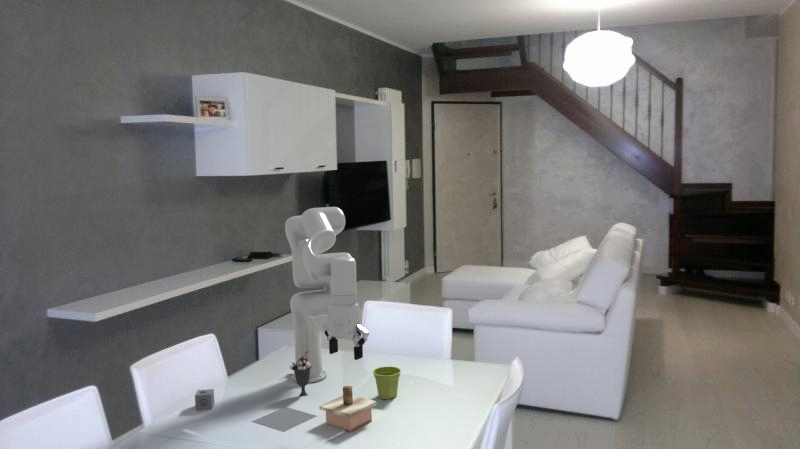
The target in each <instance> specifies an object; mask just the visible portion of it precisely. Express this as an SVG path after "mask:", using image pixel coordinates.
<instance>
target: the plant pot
mask: <svg viewBox="0 0 800 449" xmlns="http://www.w3.org/2000/svg"><path fill="white" fill-rule="evenodd" d="M401 373H402V369H401V368H399V367H396V366H389V365H388V366H379V367H377V368H375V369H373V370H372V374H373V376H374V380H375V383H376V389H377V390H376V391H377V395H378V397H379V398H380V399H382V400H391V399H392V398H393V399H394V398H396V397H397V396H398V388H399V380H400V379H399V378H400V376H401Z"/></svg>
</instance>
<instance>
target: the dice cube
mask: <svg viewBox="0 0 800 449" xmlns="http://www.w3.org/2000/svg"><path fill="white" fill-rule="evenodd" d="M214 391H215V389H214V388H212V389H197V391H196V393H195V395H194V403H195V411H209V410H213V408H214V406H215V392H214Z"/></svg>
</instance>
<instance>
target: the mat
mask: <svg viewBox="0 0 800 449" xmlns="http://www.w3.org/2000/svg"><path fill="white" fill-rule="evenodd" d="M316 417H318V415H316V414H312V413H309V412H305V411H301V410H299V409H294V408H290V407H287V406H285V407H282V408H279V409H277V410H275V411H272V412H270V413H268V414H266V415H263V416H260V417H258V418H256V419H253V420H252V421H251V422H252V423H255V424H258V425H260V426H264V427H267V428H270V429H272V430H276V431H280V432H283V433H284V432H287V431H288V430H291V429H293V428H295V427H297V426H299V425H302V424H303V423H305V422H308V421H310V420H312V419H314V418H316Z"/></svg>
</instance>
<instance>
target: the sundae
mask: <svg viewBox="0 0 800 449" xmlns="http://www.w3.org/2000/svg"><path fill="white" fill-rule="evenodd" d="M306 354H307V352H306ZM304 355H305V354H304ZM295 362H296V361H295ZM292 363H293V362H292ZM293 365H294V366H293V367H292V369H291V370H292V371H295V376H296V381H297V382H296V381H295V382H296V383H297V385H298V386H300V388H301V391H300V393H299V394H298V395H299V397H306V396H308V393H307V392H306V386H307V385H308V384H309V377H310V369H311V367H312V366H311V365H310V363H309V362H308V359H307V358H305V359H304V357H301V358H300V359H298V360H297V362H296V365H295V364H294V363H293Z"/></svg>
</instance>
